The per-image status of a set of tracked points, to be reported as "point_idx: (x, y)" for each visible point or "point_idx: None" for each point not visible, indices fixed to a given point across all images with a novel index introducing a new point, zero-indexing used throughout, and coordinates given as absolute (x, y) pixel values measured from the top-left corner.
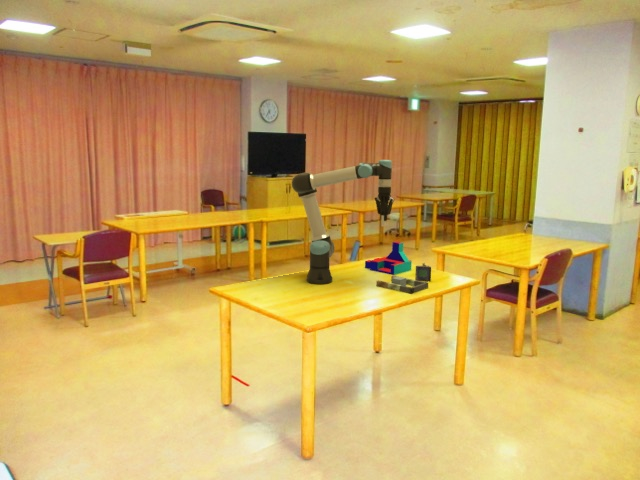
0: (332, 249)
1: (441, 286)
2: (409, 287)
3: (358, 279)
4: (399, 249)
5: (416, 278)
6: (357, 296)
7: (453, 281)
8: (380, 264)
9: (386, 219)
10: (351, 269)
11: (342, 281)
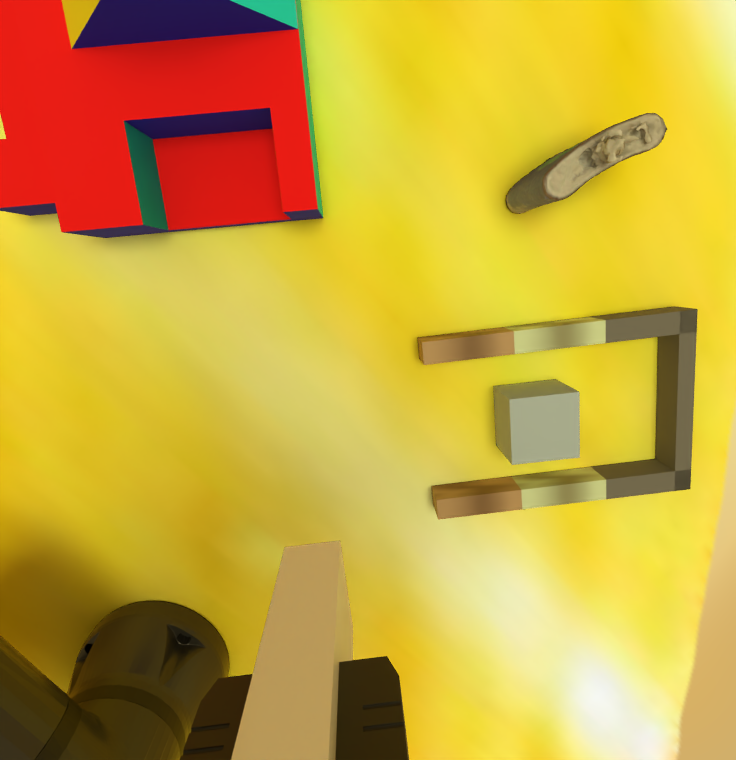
0: (1, 712)
1: (721, 209)
2: (666, 482)
3: (260, 480)
4: None
5: (525, 211)
6: (498, 694)
7: (725, 17)
8: (147, 185)
9: (397, 710)
10: (17, 330)
11: (238, 576)
